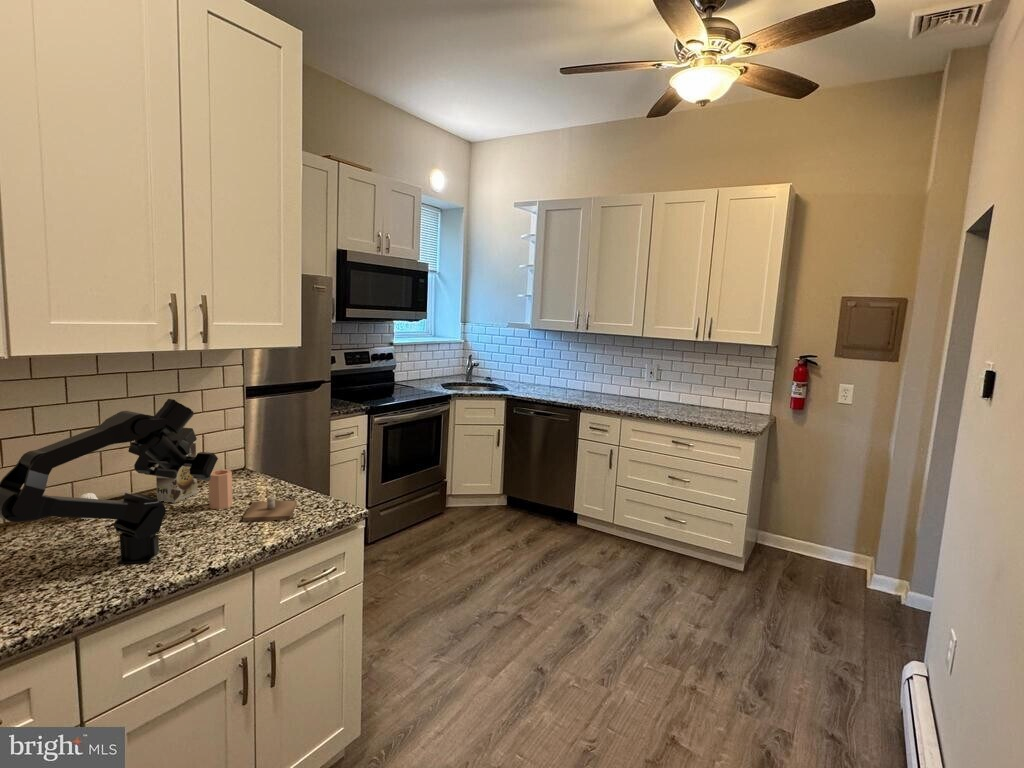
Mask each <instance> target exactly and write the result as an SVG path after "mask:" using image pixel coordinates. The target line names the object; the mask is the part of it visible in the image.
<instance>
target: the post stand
mask: <svg viewBox="0 0 1024 768" xmlns="http://www.w3.org/2000/svg"><path fill="white" fill-rule="evenodd" d="M297 504H298V500H297V499H295V500H294V499H293V500H276V498H275V497H273V496H270V497H268V498H267V499H266V500H265V501H263V500H262V501H252V503H251V504H250V506H249V508H248V510H247V511H246V512H245V514H244V515H243V518H242V522H243V523H244V522H245V523H246V521H251V522H269V521H270V522H273V520H277V521H289V520H291V519H292V516H293V515H294V511H295V509H296V507H297V506H298V505H297ZM290 518H291V519H290Z"/></svg>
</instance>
